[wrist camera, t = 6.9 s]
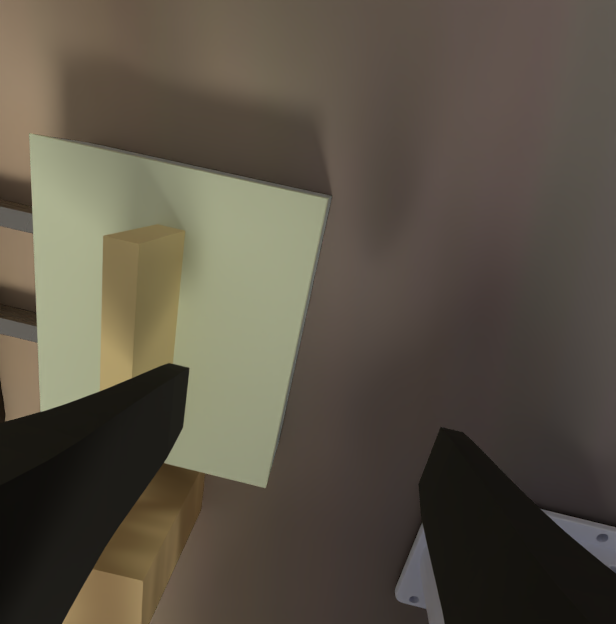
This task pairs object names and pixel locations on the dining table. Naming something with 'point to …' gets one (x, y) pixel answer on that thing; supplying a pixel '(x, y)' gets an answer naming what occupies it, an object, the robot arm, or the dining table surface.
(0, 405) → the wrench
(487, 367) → the dining table surface
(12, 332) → the keeper
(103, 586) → the wooden block
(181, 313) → the lid
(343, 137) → the dining table surface
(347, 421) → the dining table surface
